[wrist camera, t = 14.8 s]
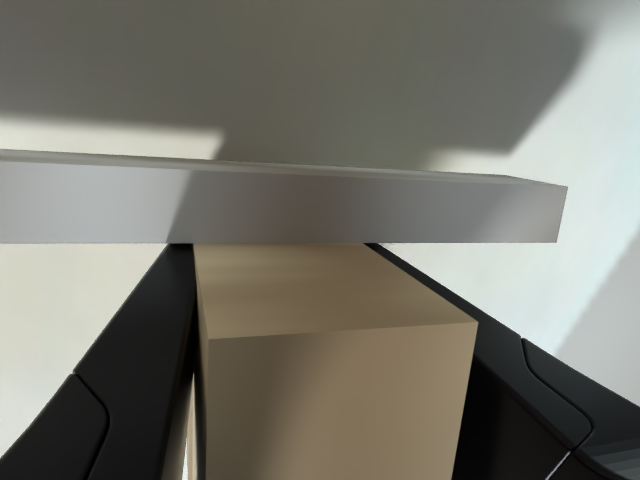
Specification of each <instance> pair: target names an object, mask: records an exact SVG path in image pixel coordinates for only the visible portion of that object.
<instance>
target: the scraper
mask: <svg viewBox="0 0 640 480" xmlns="http://www.w3.org/2000/svg"><path fill="white" fill-rule="evenodd" d="M567 189H568V187H567V186H561V185H556V184H550V183H545V182H539V181H534V180H528V179H523V178H517V177H512V176H507V175H493V174H474V173H455V172H436V171H416V170H397V169H378V168H359V167H339V166H320V165H301V164H282V163H262V162H243V161H224V160H205V159H185V158H166V157H147V156H128V155H108V154H89V153H70V152H51V151H31V150H12V149H0V244H58V243H193V249H194V260H195V272H196V285H197V295H196V322H195V349H194V374H193V384H192V393H191V402H190V411H189V420H188V429H187V468H188V480H451V478H452V472H453V466H454V461H455V455H456V449H457V443H458V437H459V432H460V426H461V420H462V414H463V408H464V403H465V397H466V391H467V385H468V379H469V374H470V368H471V362H472V356H473V351H474V345H475V339H476V333H477V327H478V321H476V320H475V319H473V318H472V317H470V316H469V315H467V314H466V313H464V312H463V311H462V310H460V309H459V308H457V307H456V306H454V305H453V304H451V303H450V302H448V301H447V300H445V299H444V298H442V297H441V296H439V295H438V294H437V293H435V292H434V291H432V290H431V289H429V288H428V287H426V286H425V285H423V284H422V283H420V282H419V281H417V280H416V279H414V278H413V277H412V276H410V275H409V274H407V273H406V272H404V271H403V270H401V269H400V268H398V267H397V266H395V265H394V264H392V263H391V262H390V261H388V260H387V259H385V258H384V257H382V256H381V255H379V254H378V253H376V252H375V251H373V250H372V249H370V248H369V247H367V246H366V245H365V244H363V243H556V242H557V237H558V233H559V228H560V223H561V218H562V213H563V209H564V204H565V199H566V194H567Z"/></svg>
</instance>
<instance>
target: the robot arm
mask: <svg viewBox="0 0 640 480" xmlns="http://www.w3.org/2000/svg"><path fill="white" fill-rule="evenodd" d="M363 244H365V245H366V246H367V247H369V248H370V249H372V250H373V251H375V252H376V253H378V254H379V255H381V256H382V257H384V258H385V259H387V260H388V261H390V262H391V263H392V264H394V265H395V266H397V267H398V268H400V269H401V270H403V271H404V272H406V273H407V274H409V275H410V276H412V277H413V278H414V279H416V280H417V281H419V282H420V283H422V284H423V285H425V286H426V287H428V288H429V289H431V290H432V291H434V292H435V293H437V294H438V295H439V296H441V297H442V298H444V299H445V300H447V301H448V302H450V303H451V304H453V305H454V306H456V307H457V308H459V309H460V310H462V311H463V312H464V313H466V314H467V315H469V316H470V317H472V318H473V319H475V320H476V321H478V327H477V333H476V339H475V345H474V351H473V356H472V362H471V368H470V374H469V379H468V385H467V391H466V397H465V403H464V408H463V414H462V420H461V426H460V432H459V437H458V443H457V449H456V455H455V461H454V466H453V472H452V478H451V480H640V407H639V406H637V405H636V404H633V403H632V402H630V401H629V400H627V399H625V398H623V397H622V396H620V395H618V394H616V393H614V392H613V391H611V390H609V389H607V388H606V387H604V386H602V385H600V384H599V383H597V382H595V381H594V380H592V379H590V378H588V377H587V376H585V375H583V374H581V373H580V372H578V371H576V370H574V369H573V368H571V367H569V366H568V365H566V364H565V363H563V362H561V361H560V360H558V359H557V358H555V357H553V356H552V355H550V354H549V353H547V352H545V351H544V350H542V349H541V348H539V347H538V346H536V345H535V344H533V343H531V342H530V341H528V340H527V339H525V338H521V336H520V335H519V334H517V333H516V332H514V331H513V330H511V329H510V328H508V327H507V326H505V325H503V324H502V323H500V322H499V321H497V320H496V319H494V318H493V317H491V316H489V315H488V314H486V313H485V312H483V311H482V310H480V309H479V308H477V307H475V306H474V305H472V304H471V303H469V302H468V301H466V300H465V299H463V298H462V297H460V296H458V295H457V294H455V293H454V292H452V291H451V290H449V289H448V288H446V287H444V286H443V285H441V284H440V283H438V282H437V281H435V280H434V279H432V278H430V277H429V276H427V275H426V274H424V273H423V272H421V271H420V270H418V269H416V268H415V267H413V266H412V265H410V264H409V263H407V262H406V261H404V260H403V259H401V258H399V257H398V256H396V255H395V254H393V253H392V252H390V251H389V250H387V249H385V248H384V247H382V246H381V245H379V244H378V243H363ZM196 295H197V285H196V272H195V260H194V249H193V243H168V244H167V246H166V247H165V248H164V250H163V251H162V252H161V254H160V255H159V256H158V258H157V259H156V260H155V262H154V263H153V264H152V266H151V267H150V268H149V270H148V271H147V272H146V274H145V275H144V276H143V278H142V279H141V280H140V282H139V283H138V284H137V286H136V287H135V288H134V290H133V291H132V292H131V294H130V295H129V296H128V298H127V299H126V300H125V302H124V303H123V304H122V306H121V307H120V308H119V310H118V311H117V312H116V314H115V315H114V316H113V318H112V319H111V320H110V322H109V323H108V324H107V326H106V327H105V328H104V330H103V331H102V332H101V334H100V335H99V336H98V338H97V339H96V340H95V342H94V343H93V344H92V346H91V347H90V348H89V350H88V351H87V352H86V354H85V355H84V356H83V358H82V359H81V360H80V361H79V363H78V364H77V365H76V367H75V368H74V369H73V374H70V375H69V376H68V377H67V378H66V380H65V381H64V382H63V384H62V385H61V386H60V388H59V389H58V390H57V392H56V393H55V394H54V396H53V397H52V398H51V400H50V401H49V402H48V403H47V404H46V406H45V407H44V408H43V409H42V411H41V412H40V413H39V414H38V416H37V417H36V418H35V419H34V421H33V422H32V423H31V424H30V426H29V427H28V428H27V429H26V430H25V431H24V432H23V434H22V435H21V436H20V437H19V438H18V439H17V440H16V441H15V442H14V444H13V445H12V446H11V447H10V448H9V449H8V450H7V451H6V452H5V454H4V455H3V456H2V457H1V458H0V480H182V474H183V465H184V456H185V447H186V438H187V429H188V420H189V411H190V402H191V393H192V384H193V374H194V349H195V322H196Z"/></svg>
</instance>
